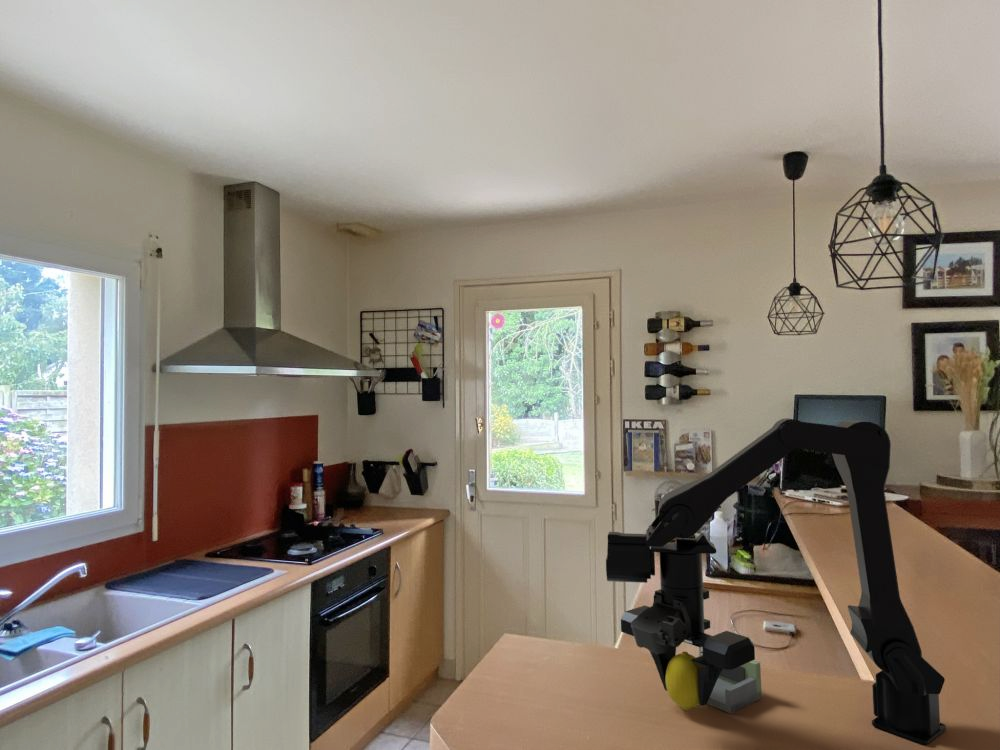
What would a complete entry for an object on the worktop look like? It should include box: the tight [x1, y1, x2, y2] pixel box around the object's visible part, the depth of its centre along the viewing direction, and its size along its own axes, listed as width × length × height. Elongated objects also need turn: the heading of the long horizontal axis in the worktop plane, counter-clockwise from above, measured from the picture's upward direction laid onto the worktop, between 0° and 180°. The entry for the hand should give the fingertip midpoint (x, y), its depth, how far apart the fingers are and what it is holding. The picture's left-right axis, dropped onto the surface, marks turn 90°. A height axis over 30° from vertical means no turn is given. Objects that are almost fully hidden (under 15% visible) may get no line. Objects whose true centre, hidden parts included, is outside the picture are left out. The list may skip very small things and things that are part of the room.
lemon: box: [665, 651, 700, 712], centre depth 91 cm, size 6×6×8 cm
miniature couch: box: [698, 647, 763, 714], centre depth 96 cm, size 10×8×5 cm
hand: (685, 697), depth 91 cm, fingers closed on lemon, 5 cm apart
